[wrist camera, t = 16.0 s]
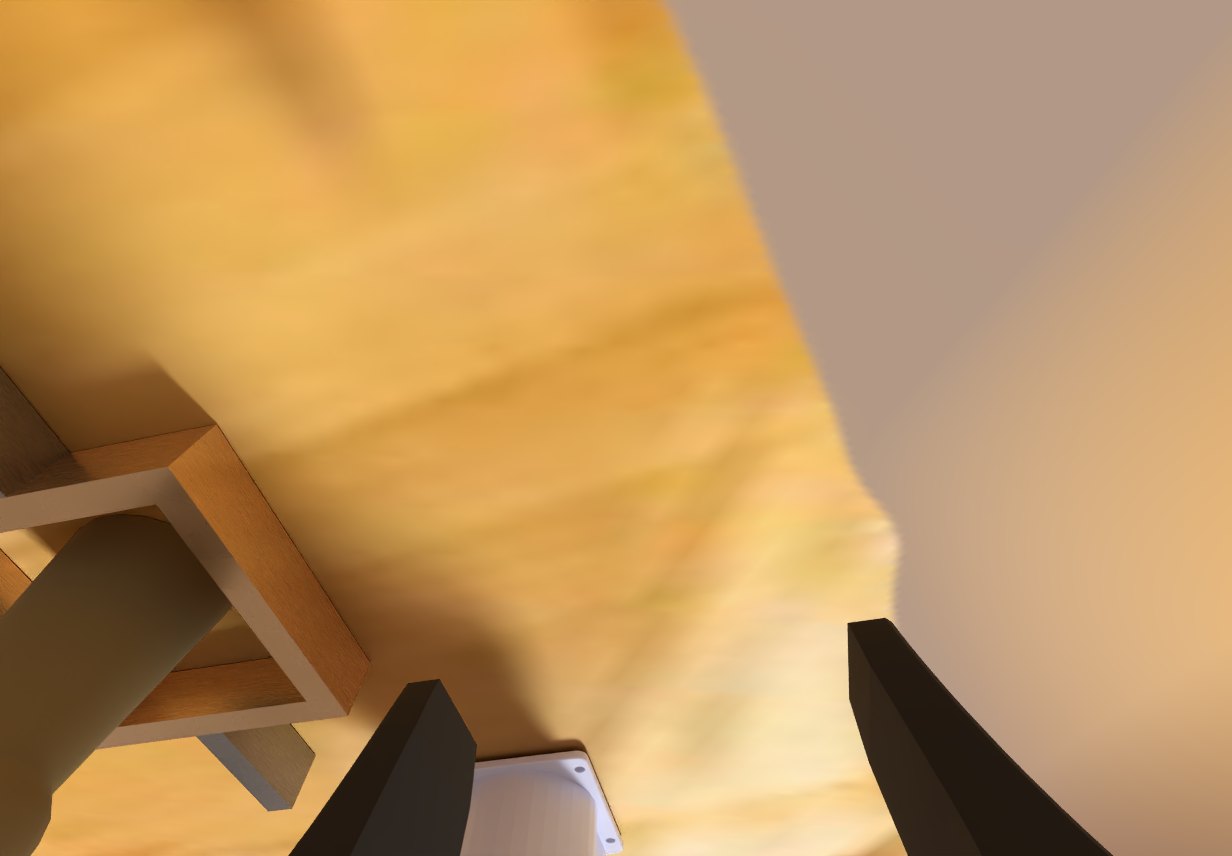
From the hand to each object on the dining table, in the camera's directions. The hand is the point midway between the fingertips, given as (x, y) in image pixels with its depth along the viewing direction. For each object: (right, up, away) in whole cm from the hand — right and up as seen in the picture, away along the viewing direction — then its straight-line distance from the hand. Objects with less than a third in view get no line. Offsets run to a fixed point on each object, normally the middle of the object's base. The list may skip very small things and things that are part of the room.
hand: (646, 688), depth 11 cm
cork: (-19, -1, +13) cm, 23 cm away
